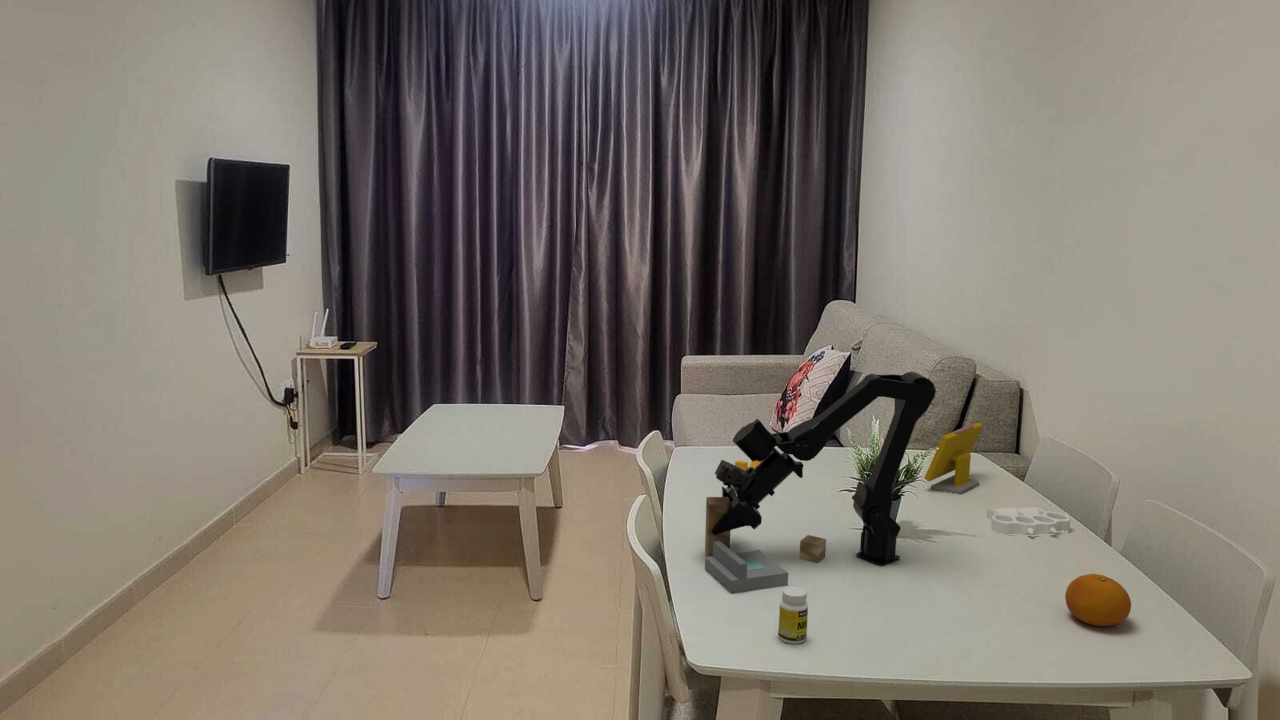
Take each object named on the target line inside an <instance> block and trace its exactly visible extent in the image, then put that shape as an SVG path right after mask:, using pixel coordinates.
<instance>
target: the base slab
mask: <svg viewBox="0 0 1280 720" xmlns="http://www.w3.org/2000/svg"><path fill="white" fill-rule="evenodd" d="M704 560H705V561H704V570H705V571H707V573H709V574H710V575H711V576H712V577H713V578H714V579H715V580H716V581H718V583H719V584H720V585H721V586H722V587H723V588H725V589H726V590H727V591H728V592H729V593H730V594H737V593H742V592H748V591H749V592H750V591H756V590H763V589H770V588H775V587H783V586H788V585H789V572H788V571H787V570H786V569H784V568H783V567H782V566H780V565H779V564H778V563H777V562H775V561H774V560H773V559H772V558H770V557H769V556H768V555H766V554H765V553H764V552H763V551H761V550H760V549H758V550H757V549H756V550H749V551H740V552H734V551H732V549H731V548H730V549H729V548H728V547H727V546H725V545H724V544H723V543H722V542H721V541H716V542H713V556H710V557H704Z"/></svg>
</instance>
